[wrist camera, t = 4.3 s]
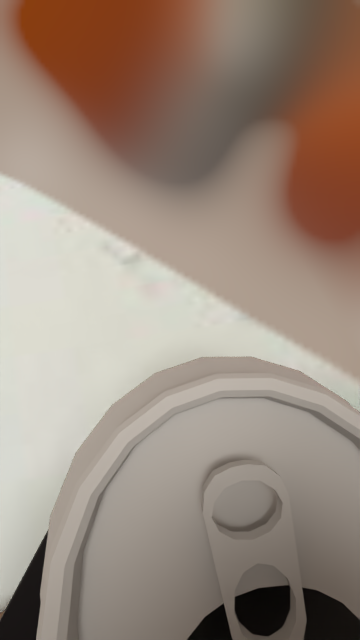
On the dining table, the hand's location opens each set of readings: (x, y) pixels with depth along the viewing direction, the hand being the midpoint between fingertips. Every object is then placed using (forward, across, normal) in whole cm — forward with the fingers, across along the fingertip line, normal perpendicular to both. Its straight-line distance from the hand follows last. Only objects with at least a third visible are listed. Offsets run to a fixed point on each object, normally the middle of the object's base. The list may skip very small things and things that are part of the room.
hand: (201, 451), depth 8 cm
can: (+4, 0, +6) cm, 7 cm away
